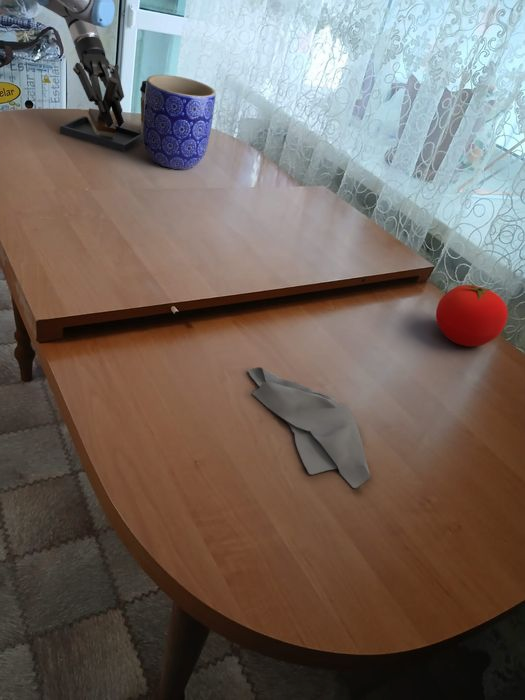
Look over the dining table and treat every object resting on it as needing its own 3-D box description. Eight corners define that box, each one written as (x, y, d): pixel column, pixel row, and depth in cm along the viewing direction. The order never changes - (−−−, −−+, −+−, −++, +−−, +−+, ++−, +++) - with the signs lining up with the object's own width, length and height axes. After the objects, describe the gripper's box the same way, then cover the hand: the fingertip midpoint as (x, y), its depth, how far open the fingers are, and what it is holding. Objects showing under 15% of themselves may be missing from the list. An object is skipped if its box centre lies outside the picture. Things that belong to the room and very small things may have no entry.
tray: (60, 133, 155) (59, 125, 153) (83, 122, 165) (83, 115, 164) (124, 152, 153) (124, 145, 152) (144, 140, 164) (144, 133, 163)
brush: (86, 117, 159) (99, 68, 150) (104, 120, 163) (118, 73, 153) (95, 134, 156) (109, 86, 146) (113, 137, 159) (128, 90, 149)
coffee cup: (132, 133, 167) (135, 81, 158) (144, 127, 174) (148, 76, 165) (157, 141, 166) (162, 89, 157) (168, 135, 173) (174, 84, 164)
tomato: (495, 364, 107) (524, 317, 100) (427, 345, 107) (451, 296, 100) (486, 330, 117) (512, 285, 110) (424, 312, 117) (446, 266, 110)
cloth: (399, 474, 78) (405, 463, 77) (321, 500, 72) (326, 489, 70) (307, 360, 95) (311, 350, 94) (237, 373, 89) (240, 362, 87)
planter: (195, 180, 148) (206, 101, 136) (130, 163, 148) (135, 82, 136) (212, 160, 163) (223, 87, 150) (153, 144, 163) (159, 70, 151)
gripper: (107, 52, 160) (134, 129, 162) (56, 49, 150) (85, 131, 152) (118, 37, 154) (145, 117, 156) (65, 32, 145) (95, 118, 146)
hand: (115, 124), depth 154 cm, fingers closed on brush, 3 cm apart
